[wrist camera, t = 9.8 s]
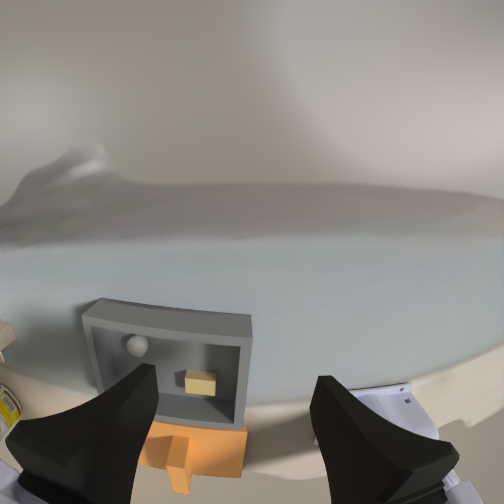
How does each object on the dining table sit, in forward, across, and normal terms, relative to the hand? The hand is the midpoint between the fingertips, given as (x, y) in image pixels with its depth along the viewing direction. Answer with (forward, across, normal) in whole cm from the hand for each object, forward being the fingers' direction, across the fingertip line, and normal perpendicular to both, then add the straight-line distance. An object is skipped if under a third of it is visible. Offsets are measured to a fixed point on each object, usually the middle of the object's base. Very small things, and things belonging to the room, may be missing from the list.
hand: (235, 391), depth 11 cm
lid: (+10, +4, +17) cm, 20 cm away
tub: (+9, +5, +5) cm, 12 cm away
